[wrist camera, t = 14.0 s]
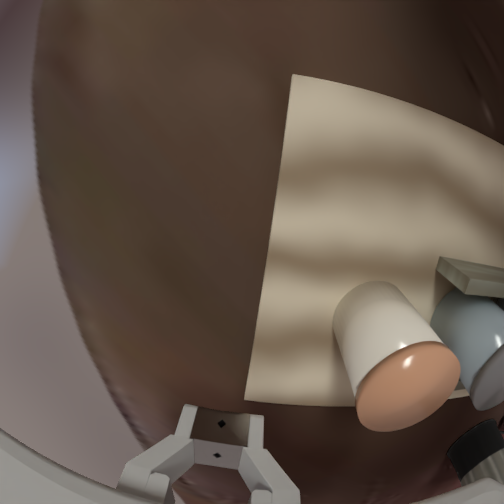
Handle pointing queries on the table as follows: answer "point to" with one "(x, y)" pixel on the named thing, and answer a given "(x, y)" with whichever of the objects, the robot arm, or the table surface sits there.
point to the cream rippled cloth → (368, 228)
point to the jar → (392, 357)
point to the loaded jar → (474, 343)
